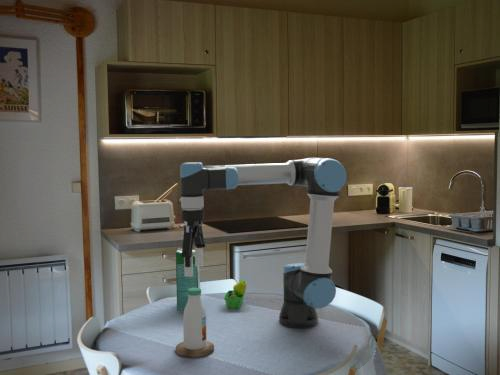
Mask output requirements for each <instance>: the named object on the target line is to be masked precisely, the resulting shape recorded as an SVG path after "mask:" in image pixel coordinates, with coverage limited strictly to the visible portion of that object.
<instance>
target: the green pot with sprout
mask: <svg viewBox="0 0 500 375" xmlns="http://www.w3.org/2000/svg"><path fill="white" fill-rule="evenodd" d="M246 288H247V283H246V280H244V279H240V280H239V282H237V283H236V284H234V285H233V287H232V289H233V290H228V291H227V292H226V294H225V295H224V297H223V299H224V301H225V304H226V308H227V309H231V310H233V309H234V310H235V309H236V310H237V309H238V310H239V309H240V308H241V306H242V304H243V301H244V298H245V295H246V290H247V289H246Z"/></svg>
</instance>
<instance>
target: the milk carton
mask: <svg viewBox="0 0 500 375" xmlns="http://www.w3.org/2000/svg"><path fill="white" fill-rule="evenodd" d="M181 254H182V247H178V248H177V250H176V251H175V270H176V271H175V276H176V277H175V279H176V280H175V281H176V310H177V311H178V310H179V311H184V309H185V306H186V304H187V301H188V289H189V288H200V289H201V267H195V249H193V250H192V256H193V277H185V276H184V257H181Z"/></svg>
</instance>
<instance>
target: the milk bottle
mask: <svg viewBox="0 0 500 375" xmlns="http://www.w3.org/2000/svg"><path fill="white" fill-rule="evenodd" d="M201 296H202V289H201V287H200V288H189V289H188V301H187V304H186V306H185V309H184V310H183V318H182V319H183V342H184V347H185V348H186V349H189V350H199V349H203V348H204V347H206V341H207V315H206V314H207V312H206V309H205V306H204V303H203V301H202V298H201Z"/></svg>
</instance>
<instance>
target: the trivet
mask: <svg viewBox="0 0 500 375" xmlns="http://www.w3.org/2000/svg"><path fill="white" fill-rule="evenodd" d="M214 351H215V344H214V343H213V342H211V341H210V340H209V341H208V340H206V347H204V348H203V349H199V350H189V349H186V348H185V347H184V341H182V342H179V343H178V344H176V345H175V353H176V354H177V356H179V357H183V358H189V359H194V358H195V359H196V358H203V357H207V356H209V355H211V354H212V353H214Z"/></svg>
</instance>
